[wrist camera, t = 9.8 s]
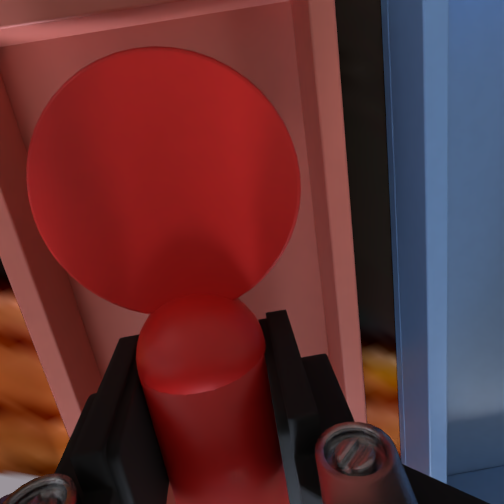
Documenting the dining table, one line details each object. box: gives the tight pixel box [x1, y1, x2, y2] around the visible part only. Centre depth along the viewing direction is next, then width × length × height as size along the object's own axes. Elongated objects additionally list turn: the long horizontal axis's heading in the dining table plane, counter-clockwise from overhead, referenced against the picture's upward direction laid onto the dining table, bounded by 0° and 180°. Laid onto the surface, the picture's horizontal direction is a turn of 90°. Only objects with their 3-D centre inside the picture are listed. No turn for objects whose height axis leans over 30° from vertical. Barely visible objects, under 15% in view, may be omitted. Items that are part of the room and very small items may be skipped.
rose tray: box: [0, 0, 367, 504], centre depth 13 cm, size 9×18×2 cm, turn 8°
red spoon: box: [26, 46, 301, 504], centre depth 10 cm, size 16×5×3 cm, turn 9°
